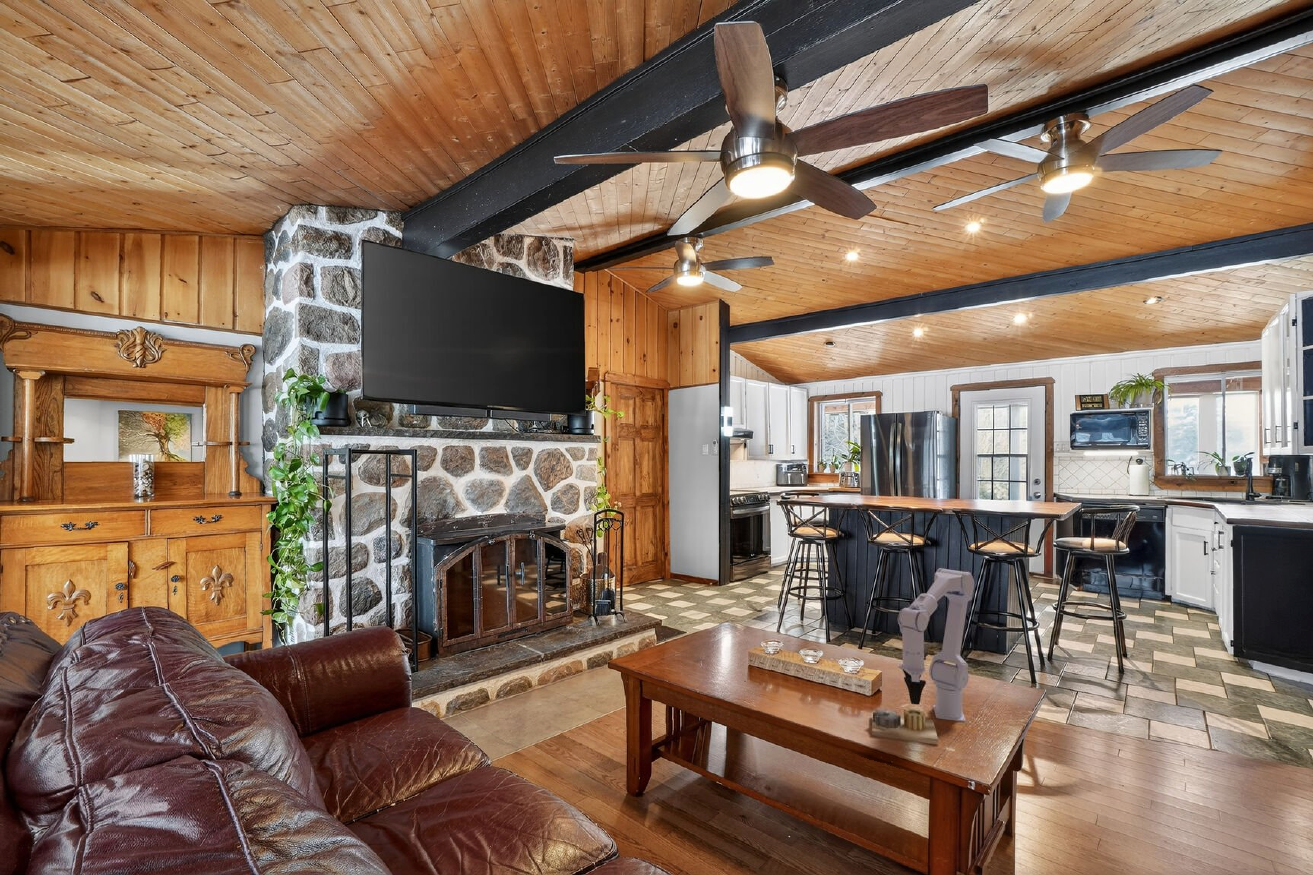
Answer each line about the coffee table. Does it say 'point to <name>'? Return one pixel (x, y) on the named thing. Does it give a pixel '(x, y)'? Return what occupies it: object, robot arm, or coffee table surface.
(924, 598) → the robot arm
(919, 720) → the brass gear
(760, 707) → the coffee table surface
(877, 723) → the gear board
